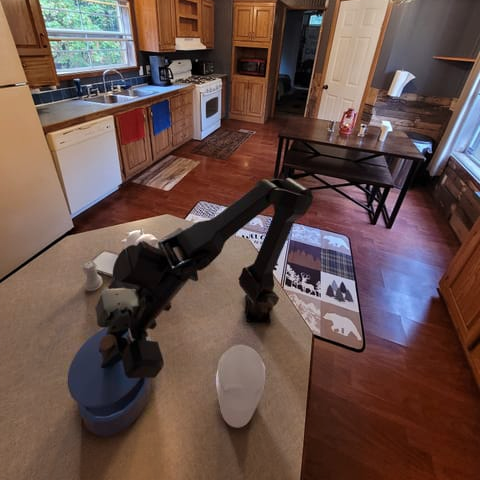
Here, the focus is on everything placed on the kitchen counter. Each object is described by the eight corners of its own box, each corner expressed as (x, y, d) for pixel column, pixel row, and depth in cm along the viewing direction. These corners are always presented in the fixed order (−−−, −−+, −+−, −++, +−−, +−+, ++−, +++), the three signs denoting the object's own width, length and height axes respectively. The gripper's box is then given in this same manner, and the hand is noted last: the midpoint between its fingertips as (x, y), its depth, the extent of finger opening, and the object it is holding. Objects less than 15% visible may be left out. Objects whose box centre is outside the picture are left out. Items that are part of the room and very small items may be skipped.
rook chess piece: (81, 288, 72) (76, 267, 69) (95, 276, 76) (90, 256, 73) (93, 294, 70) (88, 273, 67) (106, 282, 74) (102, 261, 71)
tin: (158, 358, 57) (157, 344, 55) (139, 436, 46) (137, 421, 44) (101, 357, 56) (98, 343, 55) (67, 436, 45) (62, 422, 43)
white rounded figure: (125, 224, 84) (149, 238, 78) (148, 225, 93) (172, 237, 87) (115, 250, 83) (139, 266, 77) (140, 248, 92) (163, 262, 86)
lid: (158, 326, 54) (157, 306, 51) (136, 409, 41) (133, 388, 39) (93, 325, 53) (88, 305, 51) (50, 409, 40) (41, 388, 38)
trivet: (204, 249, 89) (204, 244, 88) (174, 271, 80) (174, 265, 79) (180, 232, 96) (180, 227, 95) (150, 251, 87) (149, 245, 86)
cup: (256, 443, 46) (263, 408, 41) (208, 428, 47) (210, 392, 42) (262, 385, 54) (268, 350, 49) (221, 373, 55) (223, 338, 51)
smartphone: (104, 250, 84) (142, 262, 81) (104, 253, 85) (142, 264, 81) (85, 266, 78) (126, 279, 74) (86, 269, 78) (127, 282, 75)
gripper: (114, 244, 49) (57, 310, 47) (136, 329, 35) (55, 426, 33) (158, 260, 56) (109, 318, 55) (190, 336, 42) (126, 416, 40)
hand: (102, 359), depth 45 cm, fingers closed on lid, 3 cm apart
